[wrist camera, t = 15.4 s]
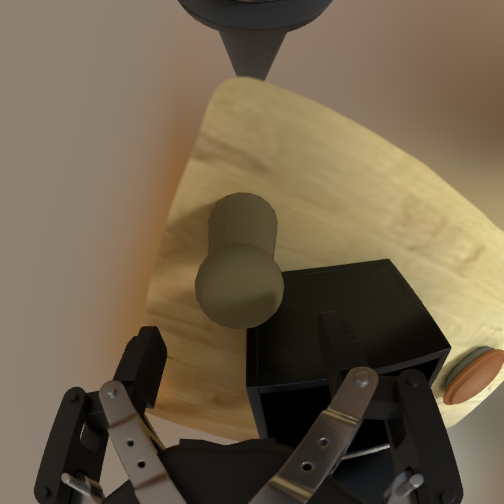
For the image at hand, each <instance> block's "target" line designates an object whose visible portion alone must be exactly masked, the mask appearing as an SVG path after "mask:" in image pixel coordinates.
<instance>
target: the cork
mask: <svg viewBox="0 0 504 504" xmlns="http://www.w3.org/2000/svg"><path fill="white" fill-rule="evenodd" d="M276 233H277V218H276V215H275V212H274V210H273V209H272V207H271V206H270V204H269V203H268V202H266V201H265V200H264V199H263V198H261V197H260V196H257V195H254V194H251V193H235V194H232V195H228V196H226V197H225V198H223V199H222V200H220V201H219V202H218V203H217V204H216V206H215V207H214V208H213V209H212V212H211V215H210V218H209V252H208V256H207V258H206V259H205V260H204V261H203V263H202V264H201V265H200V267H199V271H198V274H197V277H196V280H195V290H196V299H197V301H198V303H199V305H200V307H201V309H202V310H203V312H204V313H205V314H206V315H207V316H208V317H209V318H210V319H211V320H212V321H214V322H216V323H218V324H219V325H221V326H224V327H228V328H232V329H247V328H252V327H256V326H258V325H260V324H262V323H264V322H266V321H267V320H268V319H269V318H270V317H271V316H272V315H273V314H274V313H275V312H276V311H277V309H278V307H279V305H280V304H281V301H282V297H283V290H284V282H283V278H282V274H281V270H280V268H279V266H278V265H277V264H276V262H275V261H274V251H275V242H276Z"/></svg>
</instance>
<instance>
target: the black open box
mask: <svg viewBox="0 0 504 504" xmlns="http://www.w3.org/2000/svg"><path fill="white" fill-rule="evenodd" d="M281 274H282V278H283V282H284V290H283V297H282V301H281V304H280V305H279V307H278V309H277V311H276V312H275V313H274V314H273V315H272V316H271V317H270V318H269V319H268V320H267V321H266V322H264V323H262V324H260V325H258V326H256V327H252V328H247V337H246V390H247V394H248V397H249V401H250V405H251V409H252V412H253V416H254V420H255V423H256V427H257V430H258V434H259V437H260V439H266V438H276V443H278V444H284V445H288V446H291V447H293V448H295V449H296V448H297V446H298V445H299V444H300V442H301V441H302V439H303V438H304V437H305V435H306V434H307V432H308V431H309V430H310V428H311V427H312V425H313V424H314V422H315V421H316V419H317V418H318V416H319V415H320V413H321V412H322V411H323V410H324V409H327V408H328V406H329V405H330V403H331V401H332V398H331V394H330V389H329V385H328V381H327V377H326V372H325V368H324V364H323V360H322V356H321V352H320V348H319V342H318V324H319V313H320V312H327V311H335V312H336V315H337V318H338V321H339V320H345V319H346V320H347V321H348V322H349V323H351V324H352V325H353V327H354V329H355V332H356V335H357V337H358V339H359V342H360V344H361V347H362V349H363V352H364V355H365V357H366V360H367V362H368V365H369V367H370V368H371V369H373V370H374V371H375V372H376V373H377V374H379V375H383V376H399V375H400V373H401V372H403V371H404V370H407V369H416V370H419V371H421V372H422V373H423V374H424V375H425V376H426V378H427V380H428V383H429V385H430V388H431V386H432V384H433V383H434V381H435V379H436V377H437V375H438V374H439V372H440V370H441V368H442V366H443V364H444V362H445V360H446V358H447V356H448V354H449V352H450V350H451V346H450V344H449V342H448V341H447V339H446V338H445V336H444V334H443V333H442V331H441V330H440V328H439V327H438V325H437V324H436V322H435V321H434V319H433V318H432V316H431V315H430V313H429V312H428V310H427V309H426V308H425V306H424V305H423V303H422V302H421V300H420V299H419V298H418V296H417V295H416V293H415V292H414V291H413V289H412V288H411V287H410V285H409V284H408V283H407V281H406V280H405V279H404V277H403V276H402V275H401V273H400V272H399V271H398V269H397V268H396V267H395V266H394V264H393V263H392V262H391V260H390V259H385V260H378V261H370V262H363V263H355V264H347V265H339V266H331V267H323V268H315V269H307V270H298V271H289V272H281ZM387 445H389V440H388V436H387V432H386V427H385V423H384V420H378V419H364V420H363V422H362V424H361V426H360V428H359V429H358V431H357V433H356V435H355V437H354V439H353V440H352V442H351V444H350V446H349V447H348V449H347V451H346V453H345V455H344V456H348V455H352V454H357V453H361V452H365V451H369V450H373V449H377V448H380V447H384V446H387Z"/></svg>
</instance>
